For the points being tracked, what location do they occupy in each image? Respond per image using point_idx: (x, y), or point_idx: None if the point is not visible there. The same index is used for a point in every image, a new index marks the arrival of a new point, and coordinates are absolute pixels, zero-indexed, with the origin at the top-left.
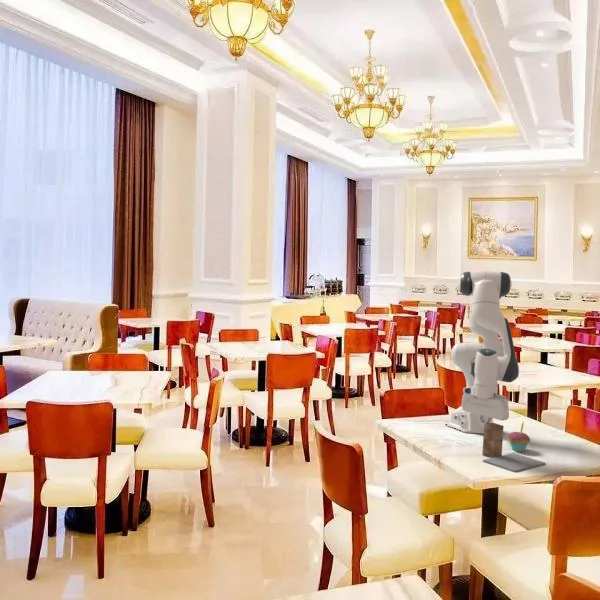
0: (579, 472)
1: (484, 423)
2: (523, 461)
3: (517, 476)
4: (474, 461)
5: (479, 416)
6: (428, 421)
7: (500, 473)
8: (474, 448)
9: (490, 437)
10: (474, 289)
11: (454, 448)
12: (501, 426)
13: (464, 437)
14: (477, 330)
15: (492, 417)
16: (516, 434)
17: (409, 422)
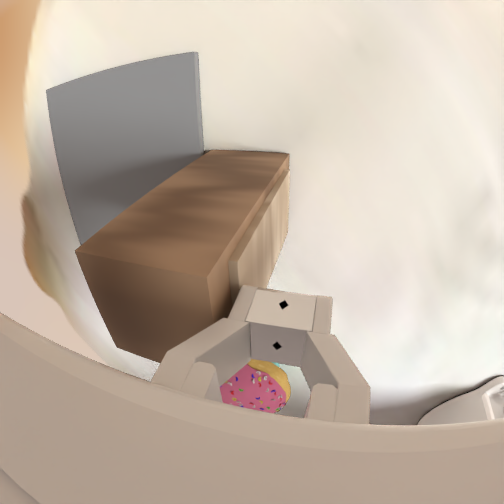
0: (38, 266)
1: (248, 317)
2: (109, 218)
3: (29, 68)
4: (223, 12)
5: (330, 399)
6: None
7: (61, 25)
8: (400, 235)
9: (176, 198)
10: None
11: (475, 143)
12: (109, 326)
13: (492, 339)
14: None
15: (53, 348)
16: (226, 392)
17: None
